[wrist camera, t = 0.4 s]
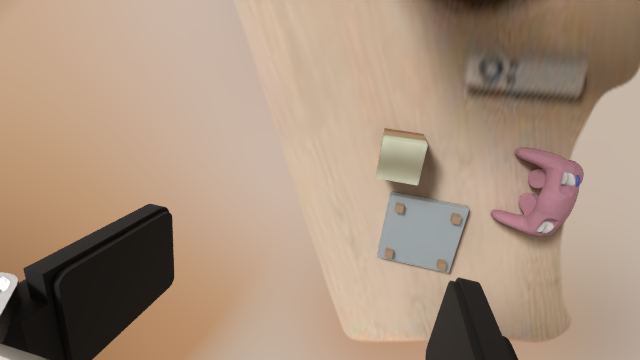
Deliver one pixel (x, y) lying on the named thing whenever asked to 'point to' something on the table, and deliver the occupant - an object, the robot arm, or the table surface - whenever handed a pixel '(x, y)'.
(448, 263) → the board
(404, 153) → the block stack
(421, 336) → the table surface
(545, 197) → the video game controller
